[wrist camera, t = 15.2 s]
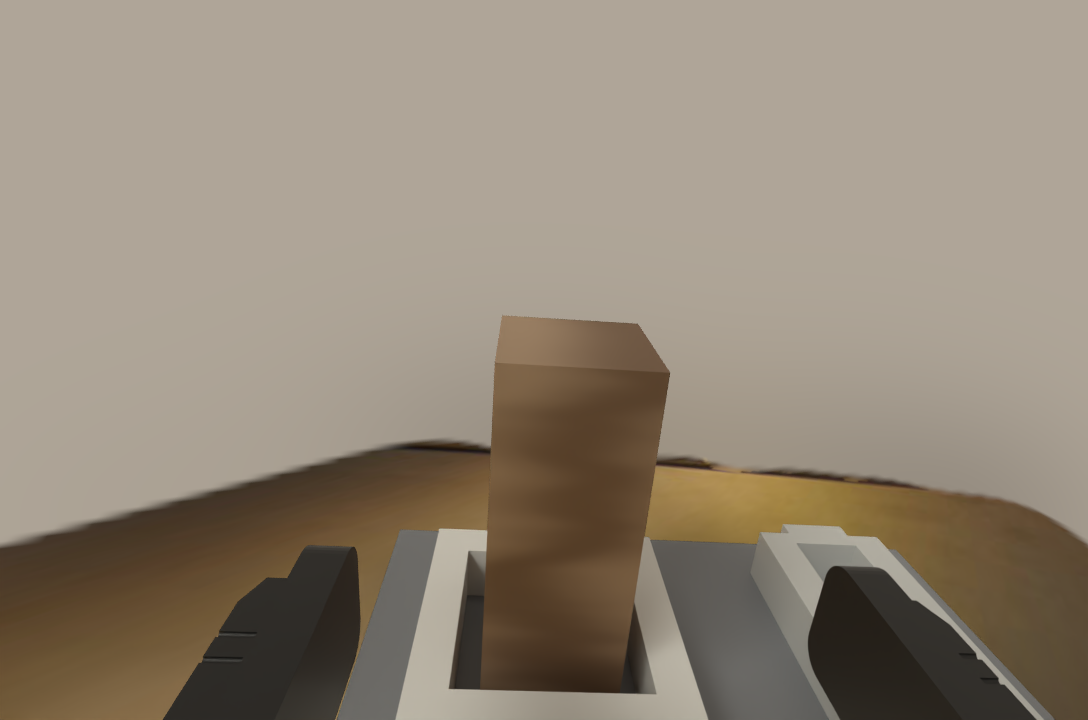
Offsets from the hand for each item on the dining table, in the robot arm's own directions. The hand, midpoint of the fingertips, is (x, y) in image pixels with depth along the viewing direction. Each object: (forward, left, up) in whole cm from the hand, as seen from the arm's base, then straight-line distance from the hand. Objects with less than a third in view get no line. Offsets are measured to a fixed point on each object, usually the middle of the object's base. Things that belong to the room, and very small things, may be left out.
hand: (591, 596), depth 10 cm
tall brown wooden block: (0, +6, -8) cm, 11 cm away
